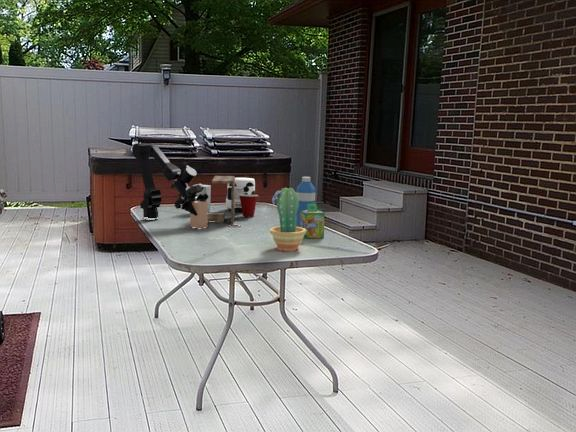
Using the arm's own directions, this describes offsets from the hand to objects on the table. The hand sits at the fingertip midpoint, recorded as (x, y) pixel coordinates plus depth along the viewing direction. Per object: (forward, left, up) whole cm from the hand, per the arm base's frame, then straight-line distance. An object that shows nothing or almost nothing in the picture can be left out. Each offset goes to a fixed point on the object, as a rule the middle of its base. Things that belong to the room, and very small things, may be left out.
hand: (201, 214), depth 280 cm
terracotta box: (-1, +1, -7) cm, 7 cm away
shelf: (+2, +22, -7) cm, 23 cm away
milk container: (+4, +57, -7) cm, 57 cm away
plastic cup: (+13, +39, -7) cm, 41 cm away
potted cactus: (+48, -31, -7) cm, 58 cm away
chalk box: (+54, -4, -7) cm, 55 cm away
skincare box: (-14, +41, -7) cm, 43 cm away
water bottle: (+48, +14, -7) cm, 51 cm away
